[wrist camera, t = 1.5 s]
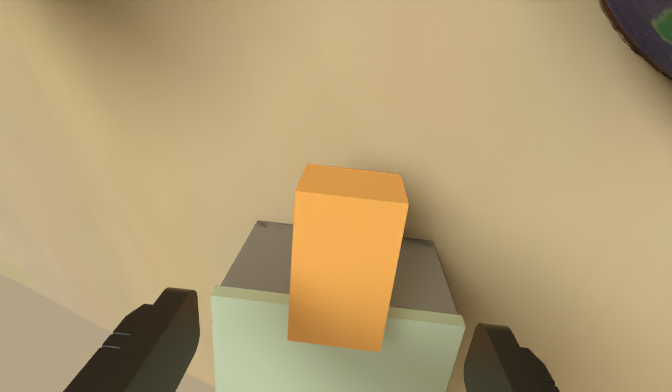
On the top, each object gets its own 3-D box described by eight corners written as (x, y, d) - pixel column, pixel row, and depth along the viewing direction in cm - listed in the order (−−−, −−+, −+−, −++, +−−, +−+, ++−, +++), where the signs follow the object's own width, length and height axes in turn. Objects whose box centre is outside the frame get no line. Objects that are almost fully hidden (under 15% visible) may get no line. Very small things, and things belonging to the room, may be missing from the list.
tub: (432, 241, 25) (457, 314, 18) (395, 402, 31) (403, 498, 25) (257, 220, 25) (220, 284, 19) (256, 384, 32) (228, 474, 25)
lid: (492, 177, 16) (530, 218, 13) (404, 483, 26) (411, 557, 22) (218, 146, 17) (177, 177, 13) (230, 459, 26) (207, 529, 22)
